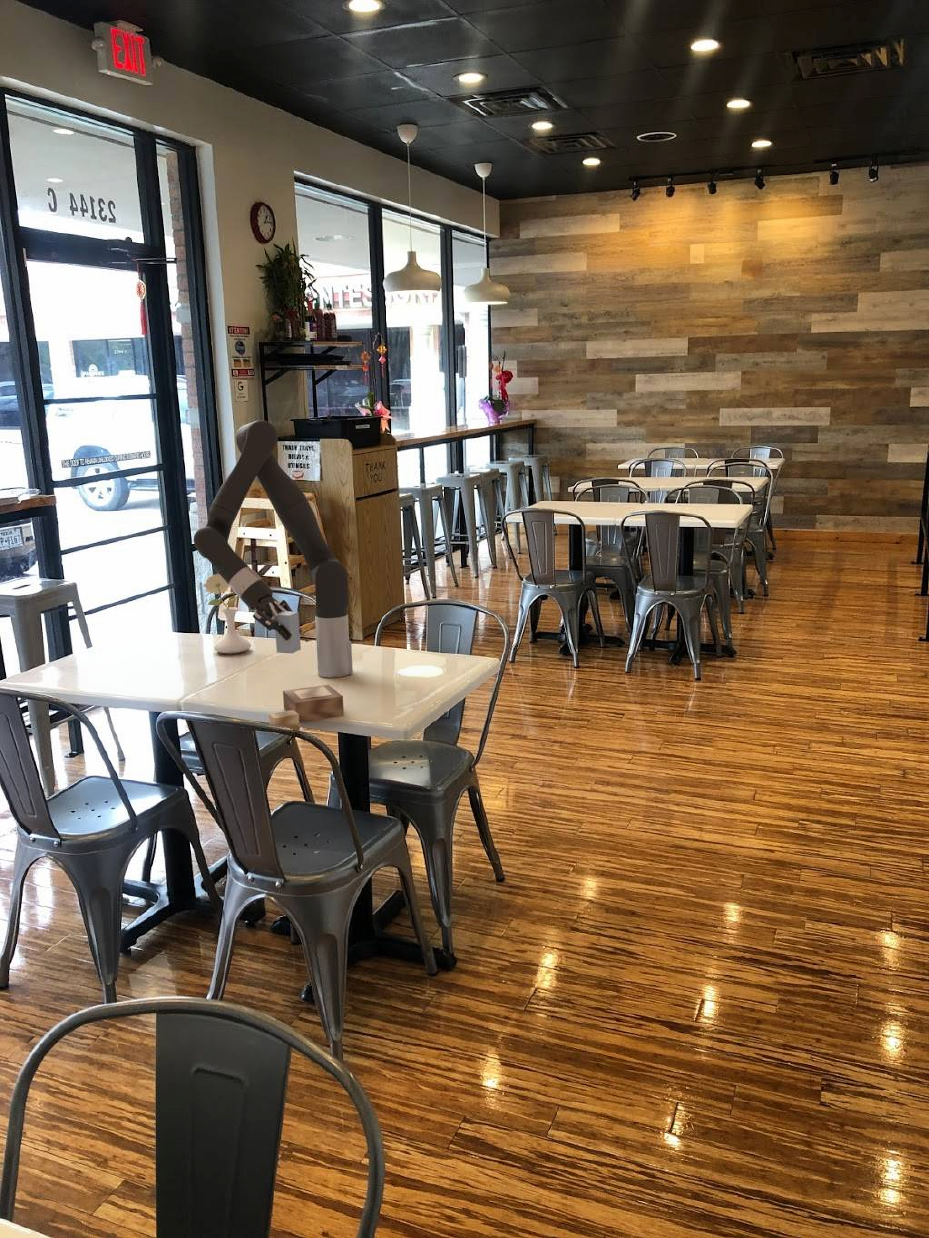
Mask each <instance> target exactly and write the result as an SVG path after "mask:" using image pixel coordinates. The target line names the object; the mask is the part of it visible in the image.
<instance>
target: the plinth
mask: <svg viewBox="0 0 929 1238" xmlns="http://www.w3.org/2000/svg"><path fill="white" fill-rule="evenodd" d="M282 698H283V710H284V711H290V710H294V711H295V712H296V713H298V714H299V723H302V722H303V723H304V722H308V721H309V722H310V721H315V720H316V721H317V720H323V719H324V720H325V719H329V718H336V717H337V718H338V717H342V716H345V714H344V713H345V712H344V695H342V694H340V693H339V691H338V690H336V689H335V688H334V687H332V686H331V685H330V684H324V685H317V686H309V687H301V688H295V689H287V690H282Z"/></svg>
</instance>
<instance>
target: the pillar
mask: <svg viewBox="0 0 929 1238" xmlns="http://www.w3.org/2000/svg"><path fill="white" fill-rule="evenodd" d="M299 614H300V613H299V611H293V612H290V611H285V612H280V613H277V616H278V619H279V620H280V622H281V623H282V625H284V626H285V628H286V629H287V630H288V631H289V632H290V633H291V634H292V636H291V638H290V639H289V640H287V641H286V640H285V639H284V638H283V637H282V636H281V635H280V634H279V633H278V632H277V631H274V632H275V633H274V634H275V644H276V653H279V654H294V653H296V652H298V651H301V649H302V646H301V633H300V631H299V628H300V619H299V618H300V616H299ZM275 622H276V621H275Z"/></svg>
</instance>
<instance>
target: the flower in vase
mask: <svg viewBox="0 0 929 1238" xmlns="http://www.w3.org/2000/svg"><path fill="white" fill-rule="evenodd" d="M203 586H204V588H205V590H206V592H208V593H210V594H214V595H219V598H220V599H218V598H213V599H211V600H210V601H209V602H208V604H207V605H208V606H219V605H220V604H221V603H223V605H224V606H225V607H224V608H222V609H221V611H222V612H223V614H224V615H225V619H226V624H227V625H226V626H227V627H226V628H227V629H226V633H225V634H224V635H223V636H222V637H221V638H220V639H219V640H218V641H217V642H216V643H215V644H214V646H213V649H214V651H215V652H218V653H221V654H237V653H238V654H239V653H243V652H245V651H248V650H249V649H250V648H251V647H252V645H251V642H250V641H249V640H247V639H246V638H245V637H243V636H242V635H241V634H239V633H238V632H237V630H236V627H235V626H236V625H235V622H236V621H235V619H236V614H237V611H238V610H239V608H238V607H235V606H233V607H231V606H229V605H232V604H234V603H235V602H236V601H237V599H238V596H236V597H234V598H231V599H229V600H228V601H227V602H226V603H225V602H224V601H223V599H222V597H221V596H222V594H223V593H224V592H227V591H228V590H229V588H230V585H229V584H228V583H227V582H226V581H225V580H224V579H223V578H222V576H221V575H220V574H219V573H216V574H212V575H211V576H209V577H208V578H206V581H205V583H204V585H203ZM221 593H222V594H221ZM228 606H229V607H228Z"/></svg>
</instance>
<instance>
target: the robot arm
mask: <svg viewBox="0 0 929 1238" xmlns="http://www.w3.org/2000/svg"><path fill="white" fill-rule="evenodd" d="M278 438H279V437H278V431H277V429H276V427H275V426H274V425H273V424H272V423H271V422H269V421H268V420H255V421H252V422H249V423H247V424H243V425H242V426H240V428H239V429H238V430H237V432H236V435H235V443H236V447H237V449H238V451H239V452H240V455H239V456H240V457H239V458H238V461H237V462H236V464H235V466H234V467H233V469H232V470H231V472H230V473H229V474H228V476H227V477H226V478H225V480H224V481H223V483H222V484H221V486H220V488H219V489H218V491H217V493H216V495H215V497H214V499H213V501H212V504H211V506H210V507H209V511H208V514H207V515H208V520H207V523H206V526H202V527H200V528H199V529H197V530H196V532H195V534H194V536H193V544H194V546H195V549H196V550H197V552H198V554H199V555H200V556H201V557H203V558H204V559H207V560H208V561H209V562H210V563H211V564H212V566H214V568H215V569H216V571H217V574H219V575H221V576H222V578H223V579H224V580H225V581H226V582H227V583H228V584H229V585H230V586H229V588H231V590H232V591H233V592H234V593H235V594H236V595H237V598H239V599H240V600H241V601H242V603H244V604H245V605H246V607H247V608H249V610H250V611H255V612H254V613H253V614H252V618H254V620H256V621H257V622H258V623H259V624H261V625H262V626H263V627H265V628H266V629H267V631H272V630H273V631H274V632H275V631H277V632H278V633H279V634H280V635H281V636H282V637H283V638H284V639H285V640H286V641H287V640H289V639H290V638H291V636H292V634H291V633H290V632H289V631H288V630H287V629H286V628H285V626H284V625H282V623H281V622H280V620H279V619H278V616H277V613H280V612H285V611H290V612H294V610H293V609H291V606H290V605H289V604H288V602H287V601H286V600H285V599H282V600H281V601H278V600H277V599H275V598H274V597H273V594H274V590H273V589H272V588H271V587H270V586H269V585H268V584H267V583H266V582H265V580H263V578H261V576H260V575H259V574H258V573H257V572H256V571H254V569H252V568H251V567H250V566H249V565H248V564H247V563H246V562H245V561H244V559H243V558H242V557H240V555H239V554H237V552H236V551H234V549H233V548H232V547H231V545H230V544H229V542H228V540H229V537H230V534H231V531H232V527H233V525H234V522H235V520H236V519H237V517H238V514H239V512H240V510H241V508H242V505H243V504H244V501H245V499H246V496H247V495H248V492H249V490H250V489H251V487H252V485H253V483H254V481H255V479H256V478H257V480H259V483H260V485H261V486H262V489H263V491H264V492H265V495H267V498H268V500H269V502H270V503H271V505H272V507H273V509H274V512H275V513H276V514H277V517H278V518H279V520H280V523H281V524H282V527H284V529H285V530H286V532H287V534H288V535H289V537H290V538H291V539H292V540H293V542H294V544H295V545H296V546H297V547H298V549H299V551H300V552H301V555H302V556H303V559H304V561H305V564H306V566H307V568H308V570H309V574H310V575H311V578H312V581H313V583H314V588H315V591H314V593H315V604H314V620H315V623H314V624H315V639H316V640H315V641H316V656H317V658H316V660H317V675H318V676H320V677H322V678H341V677H345V676H349V675H353V671H354V669H353V652H352V651H353V649H352V641H351V640H350V636H349V635H350V634H349V633H350V632H349V630H350V629H349V614H348V613H349V611H348V608H349V605H350V604H349V603H350V601H349V576H348V571H347V569H346V566H344V565H343V563H342V562H340V561H339V560H338V559H337V558H336V556H335V555H334V553H333V552H332V550H331V548H330V547H329V545H328V544H327V543H326V541H325V539H324V537H323V534H322V532H321V529H320V526H319V522H318V519H317V517H316V515H315V512H314V511H313V508H312V506H311V504H310V501H308V499H307V497H306V494H305V493H304V491H303V490H302V488H301V487H300V485H298V484H297V483H296V482H295V481H294V480H293V479H292V478H291V477H290V476H289V475H288V474H287V472H285V471H284V469H283V468H282V467H281V466H280V464H279V462H278V461H277V459H276V457H275V455H274V453H273V451H274V449H275V448H276V446H277V444H278V441H279V439H278ZM275 621H276V622H275ZM299 631H300V634H301V633H302V632H303V630H302V629H301V628H300V627H299Z"/></svg>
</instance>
